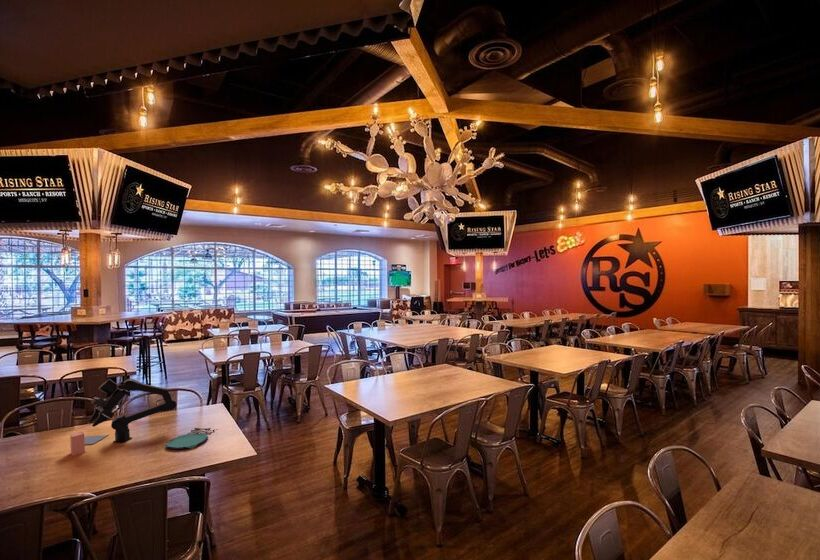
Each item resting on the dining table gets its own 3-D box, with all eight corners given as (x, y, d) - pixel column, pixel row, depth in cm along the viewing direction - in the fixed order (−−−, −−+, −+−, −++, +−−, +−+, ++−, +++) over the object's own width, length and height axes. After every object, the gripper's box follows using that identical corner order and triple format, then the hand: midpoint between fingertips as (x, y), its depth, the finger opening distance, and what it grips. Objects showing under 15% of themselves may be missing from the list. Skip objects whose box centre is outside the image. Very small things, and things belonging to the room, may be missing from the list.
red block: (83, 449, 212) (82, 431, 212) (84, 452, 209) (84, 433, 209) (70, 453, 209) (70, 434, 209) (72, 455, 205) (72, 436, 205)
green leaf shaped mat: (157, 451, 208) (157, 447, 208) (192, 429, 238) (192, 426, 238) (193, 452, 207) (193, 447, 207) (224, 430, 237) (224, 426, 237)
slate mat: (108, 435, 231) (108, 435, 231) (93, 444, 219) (93, 443, 219) (86, 436, 230) (86, 436, 230) (70, 445, 218) (70, 444, 218)
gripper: (98, 388, 223) (74, 413, 215) (105, 394, 211) (80, 420, 203) (116, 398, 229) (92, 423, 221) (124, 405, 217) (99, 431, 209)
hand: (91, 424), depth 213 cm, fingers open, 9 cm apart
